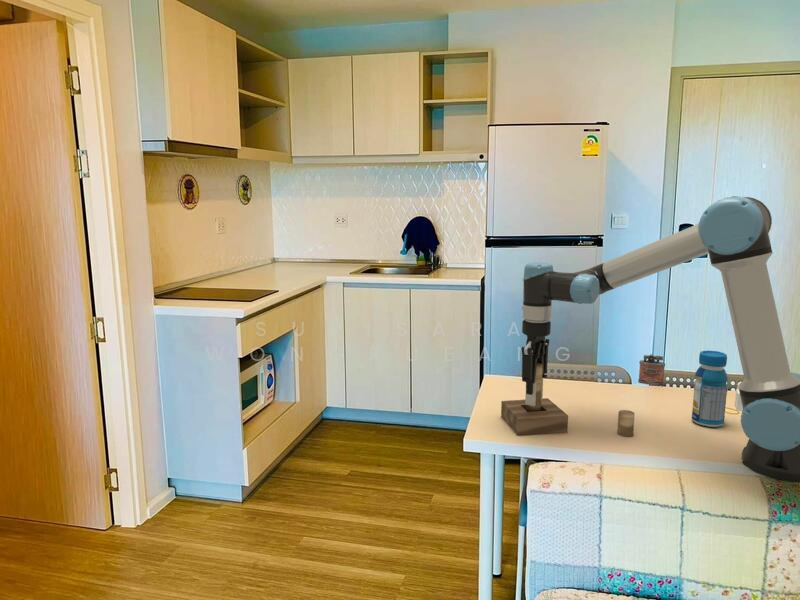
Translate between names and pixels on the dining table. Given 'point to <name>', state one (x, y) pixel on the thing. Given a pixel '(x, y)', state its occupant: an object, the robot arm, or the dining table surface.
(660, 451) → the dining table surface
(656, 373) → the lighter
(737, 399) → the napkin holder
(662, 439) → the dining table surface
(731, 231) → the robot arm
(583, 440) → the dining table surface
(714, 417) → the beverage bottle
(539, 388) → the long pin
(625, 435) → the short pin
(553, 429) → the pin block
